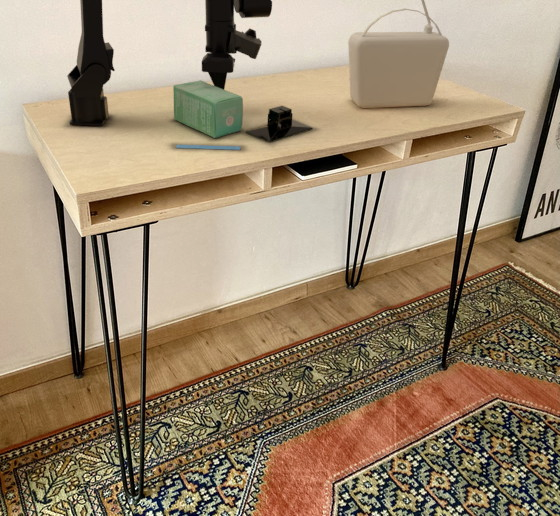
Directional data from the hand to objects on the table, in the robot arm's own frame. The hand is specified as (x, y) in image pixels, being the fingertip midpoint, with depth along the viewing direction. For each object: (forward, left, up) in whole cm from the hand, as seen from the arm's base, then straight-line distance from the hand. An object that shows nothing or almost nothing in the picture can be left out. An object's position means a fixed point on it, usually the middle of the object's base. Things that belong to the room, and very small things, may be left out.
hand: (220, 94), depth 135 cm
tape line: (-1, -22, -3) cm, 22 cm away
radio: (+39, +9, -4) cm, 40 cm away
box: (-2, -11, -4) cm, 11 cm away
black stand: (+12, -12, -4) cm, 18 cm away
